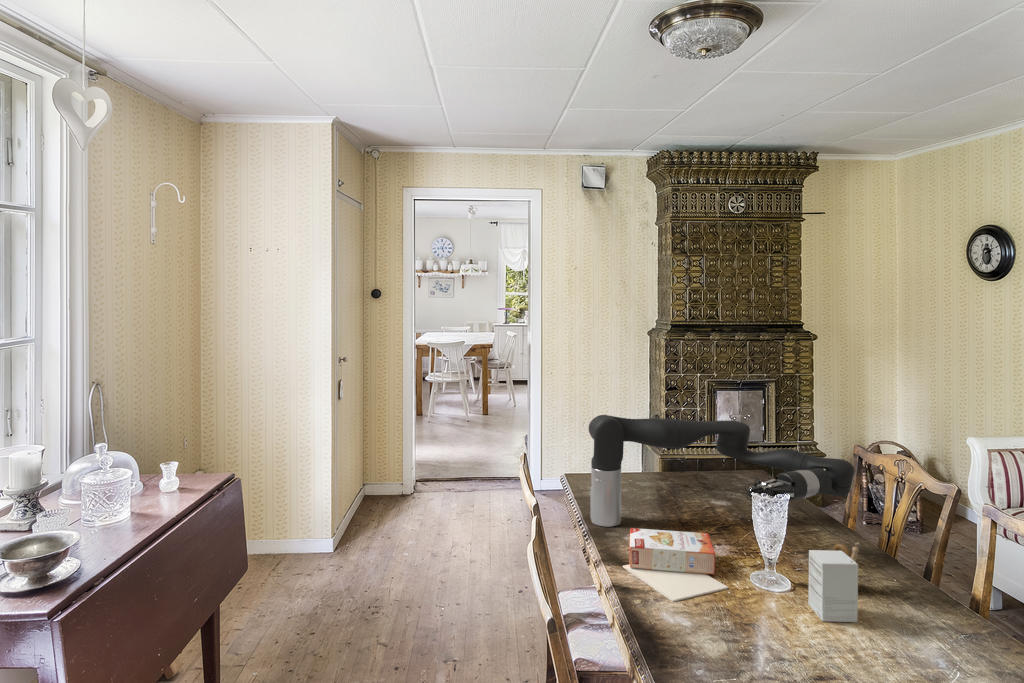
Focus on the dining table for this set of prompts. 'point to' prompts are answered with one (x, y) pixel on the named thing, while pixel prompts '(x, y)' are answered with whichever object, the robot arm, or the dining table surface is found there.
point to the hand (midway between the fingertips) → (749, 492)
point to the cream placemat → (677, 582)
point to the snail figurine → (847, 550)
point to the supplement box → (833, 586)
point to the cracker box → (671, 551)
